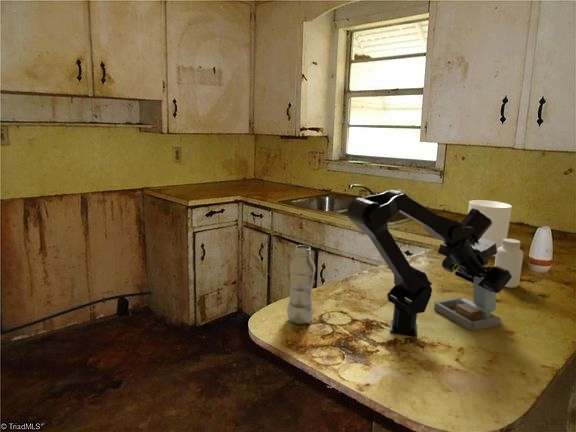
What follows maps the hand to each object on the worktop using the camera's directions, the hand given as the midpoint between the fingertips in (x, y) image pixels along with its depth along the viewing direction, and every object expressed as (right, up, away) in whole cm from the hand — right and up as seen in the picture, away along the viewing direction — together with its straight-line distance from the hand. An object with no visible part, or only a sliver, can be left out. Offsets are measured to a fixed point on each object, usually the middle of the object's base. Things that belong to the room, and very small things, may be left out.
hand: (487, 287), depth 117 cm
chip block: (-6, -8, -1) cm, 10 cm away
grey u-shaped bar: (-7, -8, -1) cm, 10 cm away
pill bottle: (+17, -3, +24) cm, 30 cm away
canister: (+27, +5, +61) cm, 67 cm away
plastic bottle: (-52, -8, -7) cm, 53 cm away
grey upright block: (-1, -7, +1) cm, 7 cm away
